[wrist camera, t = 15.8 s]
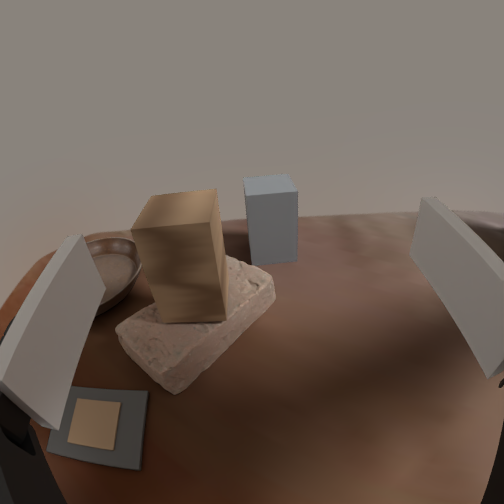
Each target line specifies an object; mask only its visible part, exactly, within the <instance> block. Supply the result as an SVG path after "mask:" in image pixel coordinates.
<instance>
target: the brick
mask: <svg viewBox="0 0 504 504" xmlns="http://www.w3.org/2000/svg"><path fill="white" fill-rule="evenodd" d="M226 261H227V268H228V275H229V287H228V306H227V321H208V322H176V323H163V321H162V319H161V316H160V313H159V311H158V308H157V306H156V303H153V304H151V305H148V307H144V308H143V309H141V310H140V311H138V312H136V313H135V314H134V315H132V316H131V317H129V318H127V319H126V320H124V321H123V322H121V323H120V324H119V325H118V326H117V327H116V328H115V332H116V333H117V335H118V336H119V342H120V344H121V345H122V347H123V349H124V350H125V352H126V353H127V354H128V355H129V356H130V357H131V359H132V360H133V361H134V362H135V363H137V364H138V365H139V366H140V367H141V368H142V369H143V370H144V371H145V372H146V373H147V374H148V375H149V376H150V377H151V378H152V379H153V380H154V381H155V382H156V383H159V384H160V385H161V386H162V387H163V388H164V389H165V390H167V391H169V392H170V393H172V394H174V395H175V394H178V393H180V392H182V391H183V390H185V389H186V388H187V387H188V386H189V385H190V384H191V383H192V382H193V381H194V380H195V379H196V378H197V377H198V376H199V374H200V373H201V372H203V371H204V370H206V369H207V368H209V367H210V366H211V364H212V363H214V362H215V361H216V360H217V359H218V358H219V357H220V356H221V354H222V353H223V352H225V351H226V350H227V349H228V347H229V346H230V345H232V344H233V343H234V341H235V340H236V339H237V338H238V337H239V336H240V335H241V334H242V333H243V332H244V331H245V330H247V329H248V327H249V326H250V325H251V324H252V323H253V322H254V321H255V320H257V319H258V318H259V317H260V316H261V315H262V314H263V313H264V312H265V311H266V310H267V309H268V308H269V307H270V306H271V305H272V303H273V302H274V301H275V299H276V295H275V291H274V289H275V288H274V283H273V281H272V276H271V275H269V274H268V273H267V272H265V271H263V270H262V269H260V268H257V267H256V266H255V265H248V264H246V263H245V262H243V261H238V260H237V259H235V258H233V257H229V256H227V255H226Z"/></svg>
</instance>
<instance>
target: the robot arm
mask: <svg viewBox="0 0 504 504" xmlns="http://www.w3.org/2000/svg"><path fill="white" fill-rule="evenodd" d="M409 256H410V257H411V258H412V260H413V261H414V262H415V264H416V265H417V266H418V268H419V269H420V271H421V272H422V273H423V275H424V276H425V278H426V279H427V280H428V282H429V283H430V285H431V286H432V288H433V289H434V291H435V292H436V294H437V295H438V297H439V298H440V300H441V301H442V303H443V304H444V306H445V307H446V309H447V310H448V312H449V313H450V315H451V317H452V318H453V320H454V321H455V323H456V325H457V326H458V328H459V329H460V331H461V333H462V334H463V336H464V338H465V340H466V341H467V343H468V345H469V346H470V348H471V350H472V352H473V353H474V355H475V357H476V359H477V361H478V363H479V364H480V366H481V368H482V370H483V372H484V374H485V376H486V378H487V379H489V378H491V377H493V376H495V375H497V374H499V373H501V372H502V371H503V370H504V261H502V260H501V259H500V258H499V257H498V256H497V254H496V253H495V252H494V251H493V250H492V249H491V248H490V247H489V246H488V245H487V244H486V243H485V242H484V241H483V240H482V239H481V238H480V237H479V236H478V235H477V234H476V233H475V232H474V231H473V230H472V229H471V228H470V227H469V226H468V225H467V224H466V223H464V222H463V221H462V220H461V219H460V218H459V217H458V216H457V215H456V214H455V213H454V212H452V211H451V210H450V209H449V208H448V207H447V206H446V205H444V204H443V203H442V202H441V201H440V200H439V199H438V198H436V197H426V198H421V203H420V208H419V213H418V218H417V223H416V228H415V232H414V237H413V241H412V245H411V249H410V253H409ZM105 290H106V287H105V285H104V283H103V281H102V279H101V277H100V274H99V272H98V270H97V268H96V265H95V263H94V261H93V259H92V256H91V254H90V252H89V249H88V247H87V245H86V242H85V240H84V237H83V235H82V234H79V235H73V236H68V237H67V238H66V239H65V240H64V242H63V243H62V245H61V246H60V247H59V249H58V250H57V251H56V253H55V254H54V256H53V257H52V259H51V260H50V262H49V263H48V265H47V266H46V268H45V269H44V271H43V272H42V274H41V275H40V277H39V278H38V280H37V281H36V283H35V285H34V286H33V288H32V289H31V291H30V293H29V294H28V296H27V298H26V299H25V301H24V303H23V304H22V306H21V308H20V310H19V311H18V313H17V315H16V316H15V317H14V318H13V319H12V320H11V322H10V323H9V325H8V327H7V329H6V330H5V332H4V336H2V338H1V340H0V504H67V503H66V501H65V499H64V497H63V495H62V493H61V491H60V489H59V487H58V485H57V483H56V481H55V479H54V477H53V475H52V472H51V470H50V468H49V466H48V463H47V461H46V459H45V456H44V454H43V451H42V449H41V446H40V444H39V441H38V438H37V435H36V433H35V430H34V429H33V427H32V426H31V425H30V424H29V422H30V419H31V418H32V419H33V420H34V421H36V422H37V423H38V424H39V425H41V426H42V427H46V428H50V429H54V430H59V428H60V424H61V420H62V416H63V412H64V408H65V404H66V401H67V397H68V394H69V390H70V387H71V383H72V380H73V377H74V374H75V371H76V368H77V364H78V361H79V358H80V355H81V352H82V350H83V347H84V344H85V341H86V338H87V336H88V333H89V330H90V327H91V325H92V322H93V320H94V317H95V314H96V312H97V309H98V307H99V304H100V302H101V299H102V297H103V295H104V292H105ZM503 385H504V378H503V380H502V381H501V382H500V384H499V388H501V387H502V386H503ZM481 504H504V421H503V427H502V432H501V437H500V441H499V446H498V450H497V454H496V458H495V461H494V465H493V468H492V472H491V475H490V478H489V481H488V485H487V488H486V490H485V493H484V496H483V499H482V501H481Z"/></svg>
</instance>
